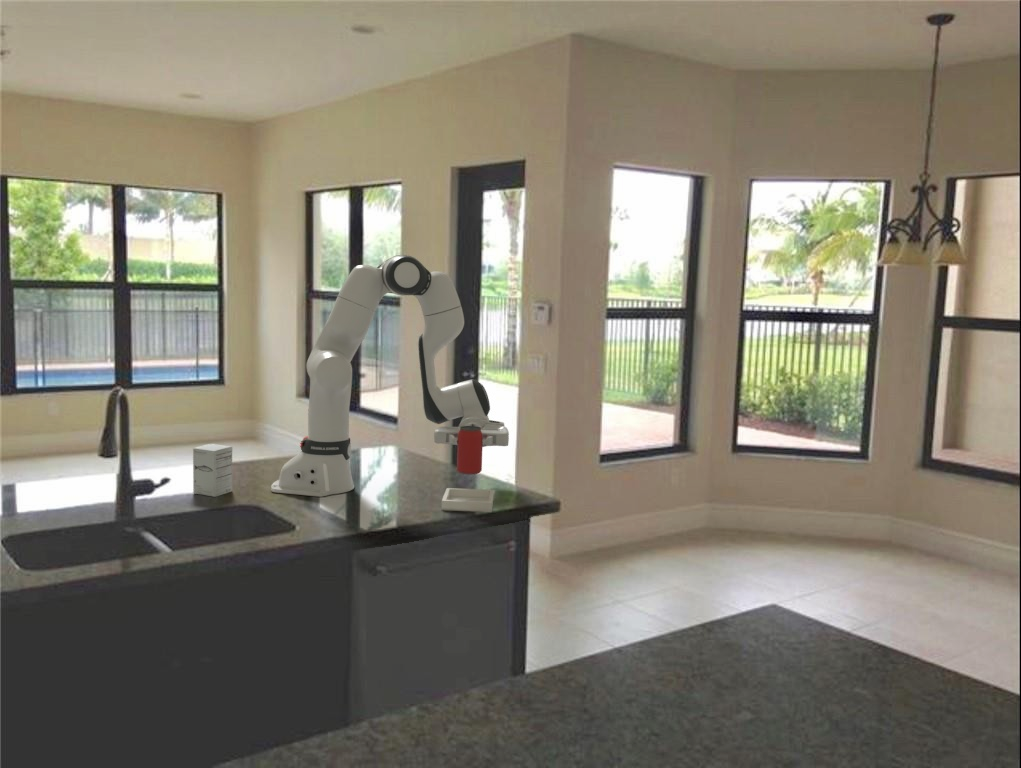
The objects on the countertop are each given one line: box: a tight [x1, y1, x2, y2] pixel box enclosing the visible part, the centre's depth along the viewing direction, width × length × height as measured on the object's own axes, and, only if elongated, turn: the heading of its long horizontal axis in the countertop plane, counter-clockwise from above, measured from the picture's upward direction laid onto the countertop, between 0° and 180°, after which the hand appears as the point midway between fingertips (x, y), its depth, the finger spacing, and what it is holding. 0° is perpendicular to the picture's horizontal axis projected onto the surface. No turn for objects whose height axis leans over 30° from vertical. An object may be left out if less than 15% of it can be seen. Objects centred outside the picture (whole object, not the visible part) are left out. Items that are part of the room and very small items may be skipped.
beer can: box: [456, 426, 483, 475], centre depth 222 cm, size 7×7×12 cm
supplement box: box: [192, 443, 233, 498], centre depth 225 cm, size 7×7×13 cm
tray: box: [441, 487, 495, 513], centre depth 223 cm, size 13×13×2 cm
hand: (469, 442), depth 221 cm, fingers closed on beer can, 7 cm apart
